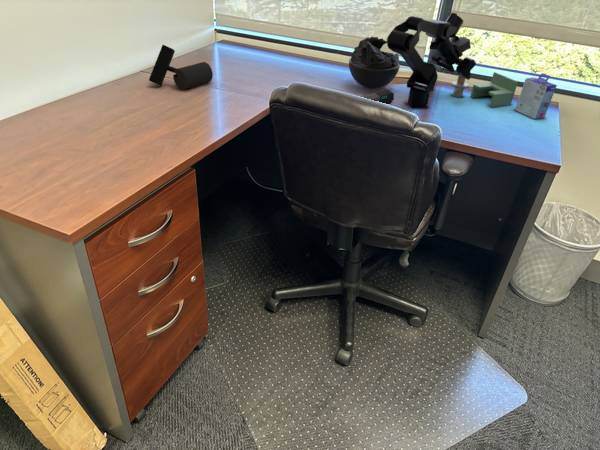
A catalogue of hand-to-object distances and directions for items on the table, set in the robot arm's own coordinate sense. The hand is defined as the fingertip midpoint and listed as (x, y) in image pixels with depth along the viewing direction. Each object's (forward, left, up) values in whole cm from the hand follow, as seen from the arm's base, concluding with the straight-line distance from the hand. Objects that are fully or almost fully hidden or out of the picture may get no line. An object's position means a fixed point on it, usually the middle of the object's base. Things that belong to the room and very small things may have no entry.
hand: (461, 75), depth 182 cm
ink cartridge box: (+18, -22, -8) cm, 30 cm away
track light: (-105, +24, -8) cm, 109 cm away
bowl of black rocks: (-31, +13, -8) cm, 35 cm away
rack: (+11, -7, -8) cm, 15 cm away
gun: (-43, -12, -8) cm, 46 cm away
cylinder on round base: (+1, 0, -8) cm, 8 cm away
